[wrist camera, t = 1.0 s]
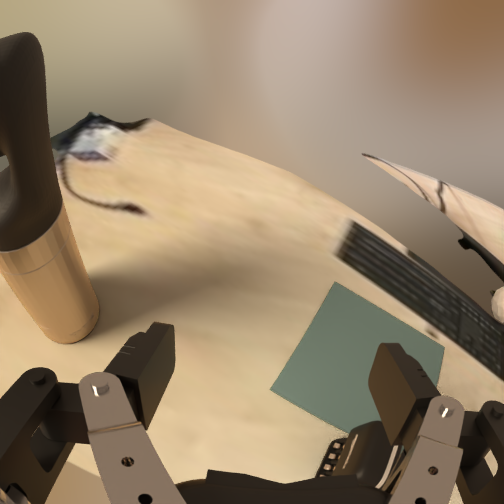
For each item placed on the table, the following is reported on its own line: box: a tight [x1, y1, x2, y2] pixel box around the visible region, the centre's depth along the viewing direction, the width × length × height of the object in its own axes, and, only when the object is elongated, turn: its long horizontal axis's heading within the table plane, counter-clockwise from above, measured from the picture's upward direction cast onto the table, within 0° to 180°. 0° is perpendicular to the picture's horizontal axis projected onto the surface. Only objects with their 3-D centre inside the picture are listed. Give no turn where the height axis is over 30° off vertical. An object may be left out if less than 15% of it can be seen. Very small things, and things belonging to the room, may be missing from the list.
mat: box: [270, 282, 445, 454], centre depth 36 cm, size 22×20×1 cm
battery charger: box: [315, 420, 403, 489], centre depth 23 cm, size 7×4×11 cm, turn 153°
